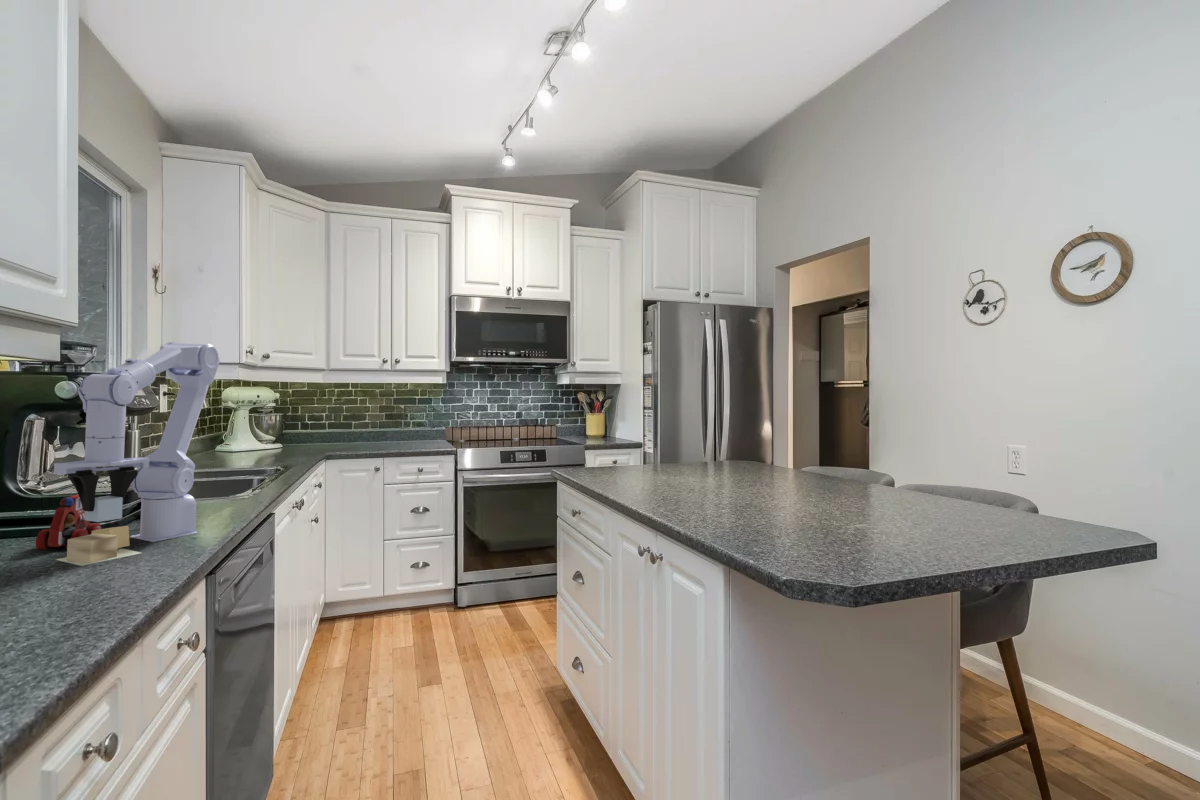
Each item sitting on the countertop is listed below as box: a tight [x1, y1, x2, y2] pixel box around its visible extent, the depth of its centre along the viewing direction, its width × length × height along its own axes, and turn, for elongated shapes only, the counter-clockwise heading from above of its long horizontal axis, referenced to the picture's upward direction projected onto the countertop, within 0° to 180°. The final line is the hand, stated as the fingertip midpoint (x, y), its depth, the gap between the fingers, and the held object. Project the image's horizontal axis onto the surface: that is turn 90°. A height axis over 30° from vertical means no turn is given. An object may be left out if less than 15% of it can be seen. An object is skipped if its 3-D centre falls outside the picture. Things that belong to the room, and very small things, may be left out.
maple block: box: [66, 533, 118, 565], centre depth 108 cm, size 5×5×4 cm
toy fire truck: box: [35, 493, 103, 551], centre depth 117 cm, size 7×12×10 cm, turn 18°
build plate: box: [55, 547, 142, 567], centre depth 110 cm, size 10×8×1 cm
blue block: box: [85, 495, 124, 523], centre depth 110 cm, size 4×4×4 cm
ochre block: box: [91, 525, 131, 548], centre depth 115 cm, size 4×4×4 cm
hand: (102, 508), depth 110 cm, fingers closed on blue block, 4 cm apart
